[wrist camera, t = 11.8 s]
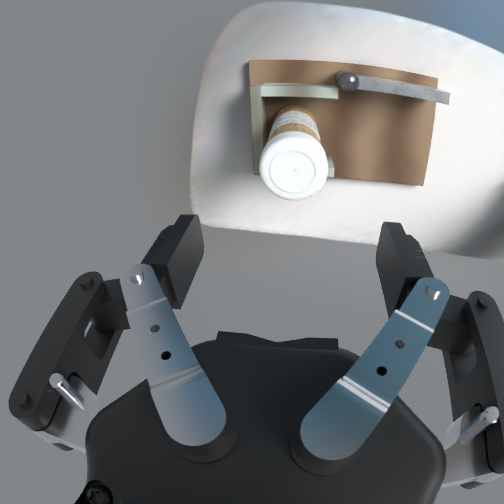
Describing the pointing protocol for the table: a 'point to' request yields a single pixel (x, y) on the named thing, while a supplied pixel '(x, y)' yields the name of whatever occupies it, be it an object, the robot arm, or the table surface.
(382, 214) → the table surface
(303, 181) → the tan spice jar
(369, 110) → the cradle board
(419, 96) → the bar
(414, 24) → the table surface
